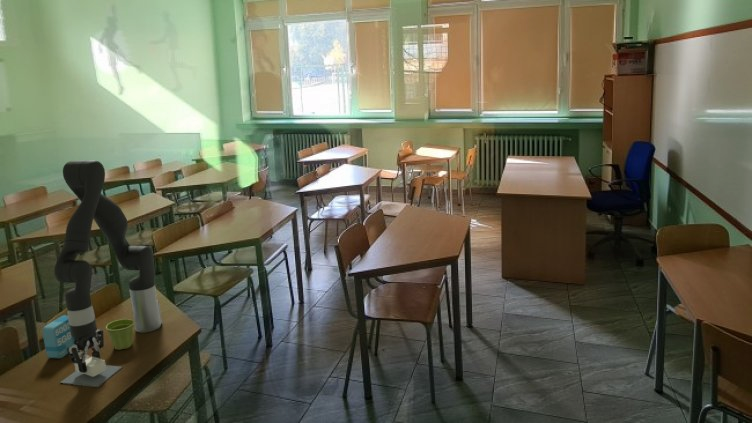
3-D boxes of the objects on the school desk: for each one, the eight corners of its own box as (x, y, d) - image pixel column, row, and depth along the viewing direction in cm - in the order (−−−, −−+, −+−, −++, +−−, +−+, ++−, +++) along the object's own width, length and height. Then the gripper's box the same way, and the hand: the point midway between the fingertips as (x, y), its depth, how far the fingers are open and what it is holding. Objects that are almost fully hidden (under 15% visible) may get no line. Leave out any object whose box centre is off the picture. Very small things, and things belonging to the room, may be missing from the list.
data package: (58, 360, 194) (52, 328, 191) (47, 359, 195) (41, 328, 192) (81, 343, 206) (76, 314, 203) (70, 343, 206) (65, 313, 203)
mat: (86, 364, 190) (86, 363, 190) (122, 367, 187) (122, 366, 187) (60, 383, 179) (60, 382, 179) (97, 387, 176) (97, 386, 176)
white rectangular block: (106, 369, 182) (104, 360, 182) (93, 376, 178) (91, 367, 177) (88, 364, 187) (87, 354, 186) (75, 370, 182) (73, 361, 182)
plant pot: (122, 338, 208) (119, 317, 206) (143, 341, 205) (139, 320, 203) (103, 350, 200) (99, 328, 198) (124, 353, 197) (120, 331, 195)
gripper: (75, 330, 170) (84, 379, 175) (107, 311, 184) (115, 357, 188) (54, 329, 172) (64, 377, 176) (87, 309, 186) (95, 355, 190)
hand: (90, 367), depth 182 cm, fingers closed on white rectangular block, 5 cm apart
